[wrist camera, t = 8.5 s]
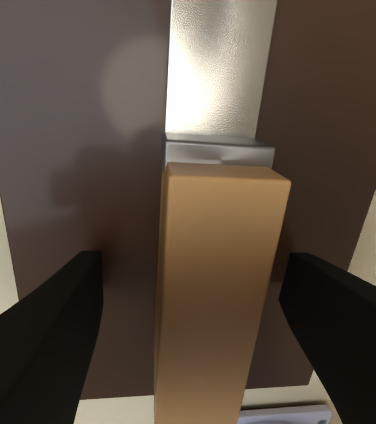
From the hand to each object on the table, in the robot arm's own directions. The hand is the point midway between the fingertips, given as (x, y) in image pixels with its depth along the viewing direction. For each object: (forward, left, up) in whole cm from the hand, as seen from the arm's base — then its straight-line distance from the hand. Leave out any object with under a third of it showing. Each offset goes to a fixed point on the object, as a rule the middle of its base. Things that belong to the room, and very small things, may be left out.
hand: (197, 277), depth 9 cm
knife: (+5, 0, 0) cm, 5 cm away
